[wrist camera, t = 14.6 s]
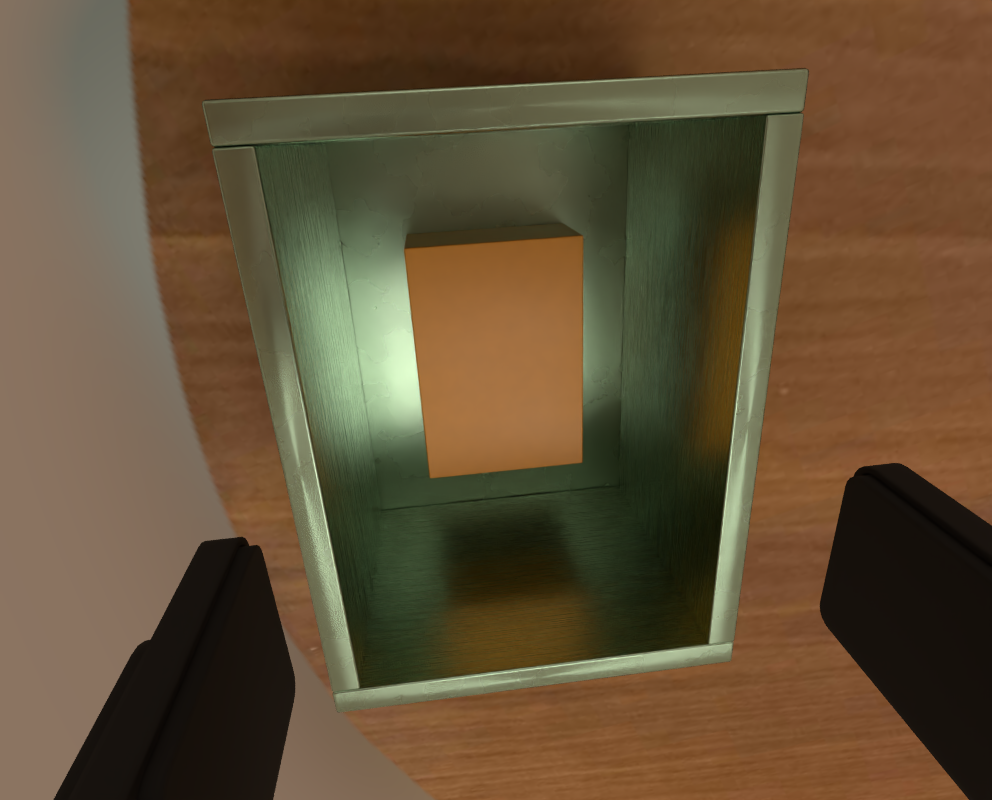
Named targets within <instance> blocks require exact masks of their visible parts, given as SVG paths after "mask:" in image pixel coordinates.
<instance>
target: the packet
mask: <svg viewBox="0 0 992 800" xmlns="http://www.w3.org/2000/svg"><path fill="white" fill-rule="evenodd" d="M404 257H405V266H406V274H407V283H408V292H409V301H410V310H411V319H412V328H413V336H414V345H415V354H416V363H417V372H418V381H419V389H420V398H421V407H422V416H423V425H424V434H425V443H426V451H427V460H428V469H429V477H430V478H440V477H450V476H459V475H469V474H479V473H489V472H498V471H508V470H518V469H528V468H538V467H547V466H557V465H567V464H577V463H582V462H583V235H581V234H580V233H578V232H576V231H575V230H573V229H571V228H570V227H568V226H566V225H565V224H563V223H557V224H543V225H529V226H515V227H501V228H487V229H473V230H459V231H445V232H431V233H417V234H407V235H406V240H405V245H404Z"/></svg>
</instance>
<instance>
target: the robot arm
mask: <svg viewBox="0 0 992 800" xmlns="http://www.w3.org/2000/svg"><path fill="white" fill-rule="evenodd" d="M820 612H821V615H822V618H823V620H824V623H825V624H826V626H827V627H828V629H829V630H830V631H831V632H832V633H833V635H834V636H835V637H836V638H837V640H838V641H839V642H840V643H841V644H842V646H843V647H844V648H845V649H846V650H847V652H848V653H849V654H850V655H851V657H852V658H853V659H854V660H855V661H856V663H857V664H858V665H859V666H860V668H861V669H862V670H863V671H864V672H865V674H866V675H867V676H868V677H869V678H870V680H871V681H872V682H873V683H874V685H875V686H876V687H877V688H878V689H879V691H880V692H881V693H882V694H883V696H884V697H885V698H886V699H887V700H888V702H889V703H890V704H891V705H892V706H893V708H894V709H895V710H896V711H897V713H898V714H899V715H900V716H901V717H902V719H903V720H904V721H905V722H906V723H907V725H908V726H909V727H910V728H911V730H912V731H913V732H914V733H915V734H916V736H917V737H918V738H919V739H920V741H921V742H922V743H923V744H924V745H925V747H926V748H927V749H928V750H929V751H930V753H931V754H932V755H933V756H934V758H935V759H936V760H937V761H938V762H939V764H940V765H941V766H942V767H943V769H944V770H945V771H946V772H947V773H948V775H949V776H950V777H951V778H952V779H953V781H954V782H955V783H956V784H957V786H958V787H959V788H960V789H961V790H962V792H963V793H964V794H965V795H966V796H967V798H968V799H969V800H992V526H991V525H990V524H989V523H987V522H986V521H984V520H983V519H981V518H980V517H978V516H977V515H976V514H974V513H973V512H971V511H970V510H968V509H967V508H965V507H964V506H963V505H961V504H960V503H958V502H957V501H955V500H954V499H952V498H951V497H950V496H948V495H947V494H945V493H944V492H942V491H941V490H940V489H938V488H937V487H935V486H934V485H932V484H931V483H929V482H928V481H927V480H925V479H924V478H922V477H921V476H919V475H918V474H916V473H915V472H914V471H912V470H911V469H909V468H908V467H906V466H904V465H902V464H900V463H891V464H882V465H873V466H864V467H861V468H859V469H858V470H857V471H856V472H855V474H854V477H852V478H850V479H849V480H848V481H847V483H846V486H845V491H844V495H843V500H842V505H841V509H840V514H839V518H838V523H837V527H836V532H835V537H834V541H833V546H832V550H831V555H830V560H829V564H828V569H827V573H826V578H825V582H824V587H823V592H822V596H821V601H820ZM294 697H295V676H294V671H293V667H292V663H291V660H290V656H289V652H288V648H287V644H286V641H285V637H284V633H283V629H282V625H281V621H280V618H279V614H278V610H277V606H276V602H275V599H274V595H273V591H272V587H271V583H270V580H269V576H268V572H267V568H266V564H265V561H264V557H263V553H262V550H261V548H260V547H259V546H258V545H253V546H249V544H248V542H247V540H246V539H245V538H243V537H237V538H229V539H220V540H211V541H204V542H202V543H201V544H200V546H199V547H198V549H197V551H196V553H195V555H194V557H193V559H192V561H191V563H190V565H189V567H188V569H187V570H186V572H185V574H184V576H183V578H182V580H181V582H180V584H179V586H178V588H177V590H176V592H175V594H174V596H173V598H172V599H171V602H170V603H169V605H168V607H167V609H166V611H165V613H164V615H163V617H162V619H161V621H160V623H159V625H158V627H157V629H156V630H155V632H154V634H153V636H152V638H151V640H147V641H144V642H143V643H141V644H140V645H138V646H137V648H136V649H135V651H134V652H133V654H132V655H131V657H130V659H129V661H128V662H127V664H126V666H125V668H124V670H123V672H122V674H121V675H120V677H119V679H118V681H117V683H116V685H115V686H114V688H113V690H112V692H111V694H110V696H109V698H108V699H107V701H106V703H105V705H104V707H103V709H102V711H101V712H100V714H99V716H98V718H97V720H96V722H95V724H94V726H93V728H92V729H91V731H90V733H89V735H88V737H87V739H86V740H85V742H84V744H83V746H82V748H81V750H80V751H79V753H78V755H77V757H76V759H75V761H74V763H73V764H72V766H71V768H70V770H69V772H68V774H67V776H66V778H65V779H64V781H63V783H62V785H61V787H60V789H59V790H58V792H57V794H56V796H55V798H54V800H273V797H274V792H275V788H276V782H277V778H278V773H279V769H280V764H281V759H282V754H283V750H284V745H285V741H286V736H287V731H288V726H289V722H290V717H291V712H292V708H293V703H294Z"/></svg>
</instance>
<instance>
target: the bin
mask: <svg viewBox="0 0 992 800" xmlns="http://www.w3.org/2000/svg"><path fill="white" fill-rule="evenodd" d="M808 75H809V70H808V69H806V68H796V69H777V70H758V71H739V72H720V73H701V74H683V75H664V76H645V77H626V78H607V79H588V80H569V81H551V82H532V83H513V84H494V85H475V86H456V87H437V88H419V89H400V90H381V91H362V92H343V93H324V94H305V95H286V96H268V97H249V98H230V99H211V100H204V101H203V102H202V107H203V112H204V116H205V121H206V125H207V130H208V134H209V139H210V143H211V145H212V146H214V147H215V148H213V150H212V153H213V157H214V162H215V166H216V171H217V175H218V180H219V184H220V189H221V193H222V198H223V202H224V207H225V211H226V216H227V220H228V225H229V229H230V234H231V238H232V243H233V247H234V252H235V256H236V261H237V265H238V270H239V274H240V279H241V283H242V288H243V292H244V297H245V301H246V306H247V310H248V315H249V319H250V324H251V328H252V333H253V337H254V342H255V346H256V351H257V355H258V360H259V364H260V369H261V373H262V378H263V382H264V387H265V391H266V396H267V400H268V405H269V409H270V414H271V418H272V423H273V427H274V432H275V436H276V441H277V445H278V450H279V454H280V459H281V463H282V468H283V472H284V477H285V481H286V486H287V490H288V495H289V499H290V504H291V508H292V513H293V517H294V522H295V526H296V531H297V535H298V540H299V544H300V549H301V553H302V558H303V562H304V567H305V571H306V576H307V580H308V585H309V589H310V594H311V598H312V603H313V607H314V612H315V616H316V621H317V625H318V630H319V634H320V639H321V643H322V648H323V652H324V657H325V661H326V666H327V670H328V675H329V679H330V684H331V688H332V691H333V697H334V702H335V706H336V710H337V712H347V711H355V710H362V709H370V708H378V707H385V706H393V705H401V704H408V703H416V702H424V701H431V700H439V699H447V698H454V697H462V696H470V695H477V694H485V693H493V692H500V691H508V690H516V689H523V688H531V687H539V686H546V685H554V684H562V683H569V682H577V681H585V680H592V679H600V678H608V677H615V676H623V675H631V674H638V673H646V672H654V671H661V670H669V669H677V668H684V667H692V666H700V665H707V664H715V663H723V662H730V661H731V658H732V651H733V641H734V637H735V630H736V622H737V615H738V607H739V600H740V592H741V585H742V577H743V569H744V562H745V554H746V547H747V539H748V532H749V524H750V517H751V509H752V502H753V494H754V487H755V479H756V471H757V464H758V456H759V449H760V441H761V434H762V426H763V419H764V411H765V404H766V396H767V389H768V381H769V374H770V366H771V358H772V351H773V343H774V336H775V328H776V321H777V313H778V306H779V298H780V291H781V283H782V276H783V268H784V261H785V253H786V245H787V238H788V230H789V223H790V215H791V208H792V200H793V193H794V185H795V178H796V170H797V163H798V155H799V147H800V140H801V132H802V125H803V117H804V114H803V113H800V112H802V111H803V110H804V106H805V98H806V91H807V83H808ZM557 223H563V224H565V225H566V226H568V227H570V228H571V229H573V230H575V231H576V232H578V233H580V234H581V235H583V462H582V463H577V464H567V465H557V466H547V467H538V468H528V469H518V470H508V471H498V472H489V473H479V474H469V475H459V476H450V477H440V478H430V477H429V469H428V460H427V451H426V443H425V434H424V425H423V416H422V407H421V398H420V389H419V381H418V372H417V363H416V354H415V345H414V336H413V328H412V319H411V310H410V301H409V292H408V283H407V274H406V266H405V257H404V245H405V240H406V235H407V234H417V233H431V232H445V231H459V230H473V229H487V228H501V227H515V226H529V225H543V224H557Z"/></svg>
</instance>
